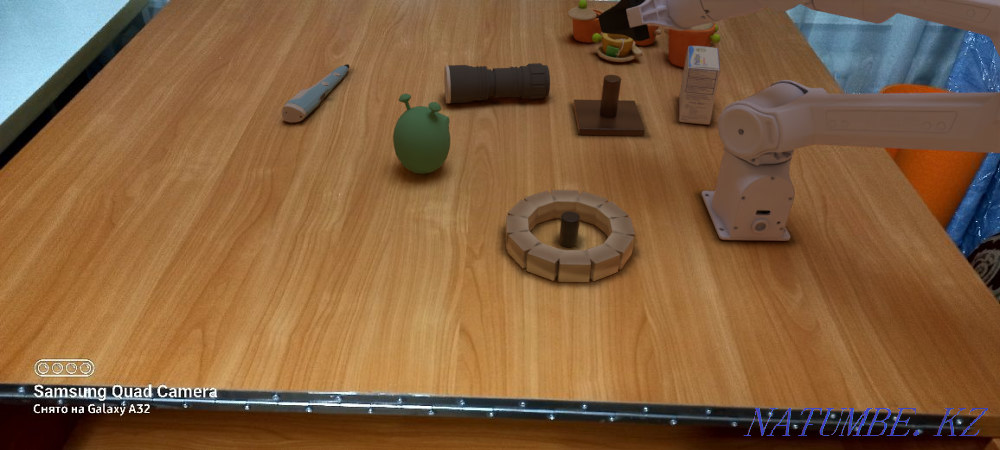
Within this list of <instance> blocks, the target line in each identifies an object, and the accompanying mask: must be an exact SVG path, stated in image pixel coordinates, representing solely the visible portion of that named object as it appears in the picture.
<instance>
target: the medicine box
mask: <svg viewBox="0 0 1000 450" xmlns="http://www.w3.org/2000/svg"><path fill="white" fill-rule="evenodd" d="M719 52H720V51H719V48H717V47H711V46H709V47H704V46H688V49H687V54H686V60H685V66H684V68H683V73H682V78H681V84H680V89H679V98H678V100H679V101H678V104H679V105H678V113H679V116H678V122H679V123H685V124H696V125H703V126H704V125H706V126H709V125H710V124H711V122H712V121H711V120H712V115H713V110H714V103H715V99H716V98H715V97H716V93H717V89H718V83H719V79H720V74H721V73H720V72H721V65H720V64H721V63H720V53H719Z"/></svg>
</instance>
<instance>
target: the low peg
mask: <svg viewBox="0 0 1000 450" xmlns="http://www.w3.org/2000/svg"><path fill="white" fill-rule="evenodd" d="M580 221H581V220H580V216H579V214H577V213H576V212H572V211H567V212H564V213H563V214H562V215H561V218H560V224H559V225H560V226H559V227H560V228H559V238H558V242H559V244H560V245H561V246H563V247H565V248H573V247H575V246H576V245H577V244H578V239H579V229H580V228H579V227H580Z"/></svg>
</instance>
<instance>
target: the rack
mask: <svg viewBox="0 0 1000 450" xmlns="http://www.w3.org/2000/svg"><path fill="white" fill-rule="evenodd" d="M621 83H622V78H621V76H619V75H618V74H617V75H616V74H606V75H604V76H603V81H602V87H601V88H602V89H601V97H600V98H601V99H573V102H572V103H573V105H572V106H573V111H574V117H575V122H576V126H577V131H578V136H620V137H621V136H622V137H623V136H625V137H627V136H628V137H645V131H646V130H645V126H644V123H643V120H642V117H641V115H640V112H639V109H638V106H637V103H636V101H635V100H629V99H628V100H625V99H621V100H620V93H621V92H620V90H621V86H622V85H621Z"/></svg>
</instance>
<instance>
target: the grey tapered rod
mask: <svg viewBox="0 0 1000 450" xmlns="http://www.w3.org/2000/svg"><path fill="white" fill-rule="evenodd" d="M349 69H350V64H349V63H346V64H343V65H340V66H338V67H336V68H335V69H333V70H332V71H331V72H330V73H328V74H327V75H326V76H324V77H323V78H321V79H320V80H318V82H316V83H315V84H313V85H311V86H309V87H307V88H302V89H300V91H298V92H296V94H295V95H294V96H292V97H291V98H290V99H289V100H288V101H287V102H286V103H284V105H283V107H282V111H281V117H282V119H283V120H284V121H285V122H288V123H298V122H301V121H303V120H304V119H305V118H307V117H308V116H309V115H310V114H311V113H312V112H313V111H314V110H315V109H316V108H317V107H318V106H319V105H320V103H321V102H322V101H323V100H324V99H325V98H326V96H328V94H330V93H331V91H332V90H333V89H334V88H335V87H336V86H337V85H338V84H339V83H340V82H342V80H343V79H344V78H345V76H346V75H347V73H348V72H349Z"/></svg>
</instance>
